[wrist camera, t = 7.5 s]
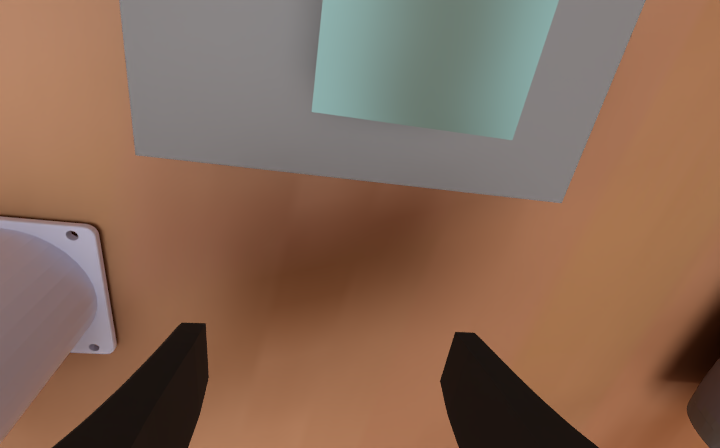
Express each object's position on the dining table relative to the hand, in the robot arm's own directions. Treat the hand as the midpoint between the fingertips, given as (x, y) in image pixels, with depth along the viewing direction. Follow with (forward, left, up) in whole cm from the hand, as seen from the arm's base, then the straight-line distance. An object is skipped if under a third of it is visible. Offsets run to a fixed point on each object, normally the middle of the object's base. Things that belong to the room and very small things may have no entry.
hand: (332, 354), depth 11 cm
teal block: (+1, +9, -7) cm, 11 cm away
